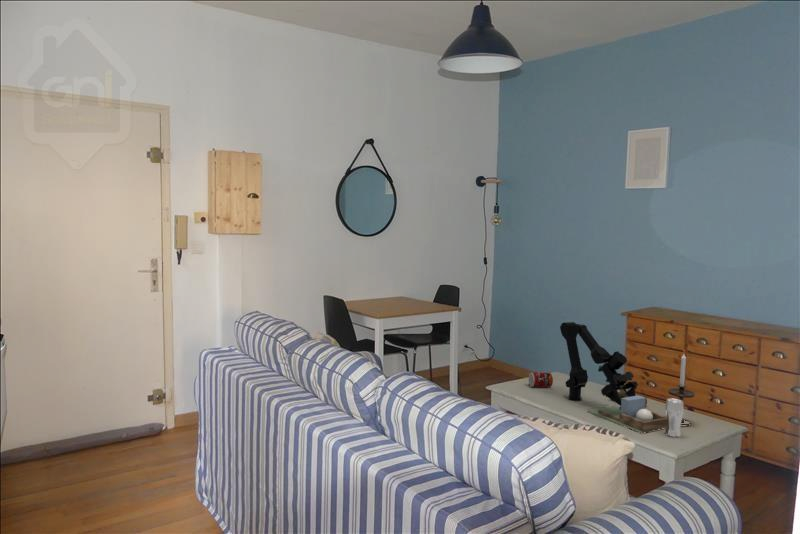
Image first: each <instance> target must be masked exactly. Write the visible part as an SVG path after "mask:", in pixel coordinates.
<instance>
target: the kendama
mask: <svg viewBox="0 0 800 534" xmlns="http://www.w3.org/2000/svg"><path fill="white" fill-rule="evenodd" d="M617 394H618V396H619V398H620V400H621V398H625V397H628V396H627V395H626V392H625V391H624V390H617ZM611 401H612V402H613V400H611ZM647 403H648V399H647V398H646V402H645V407H646V406H647Z"/></svg>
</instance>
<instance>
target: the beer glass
mask: <svg viewBox="0 0 800 534" xmlns="http://www.w3.org/2000/svg"><path fill="white" fill-rule="evenodd" d="M665 402H666V403H665V409H664V410H665V411H664V412H665V413H664V414H665V417H666V423H667V426H666V429H665V432H664V434H665V433H666V434H667V435H670V436H680V435H682V434H681V426H680V425H681V421H682V419H684V418H683V417H684V410H685V406H684V400H683V401H682V400H679V399H678V398H674V397H673V398H671V397H670V398H669V397H668V398H667V399H666V400H665ZM666 434H665V435H666ZM667 435H666V436H667ZM670 436H669V437H670ZM680 437H681V436H680Z"/></svg>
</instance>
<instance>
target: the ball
mask: <svg viewBox="0 0 800 534" xmlns="http://www.w3.org/2000/svg"><path fill="white" fill-rule="evenodd" d="M651 412H652V411H651ZM651 412H650V410H649V409H647V408H645V409H640V410H639V411H638V412H637V413H636V419H639V420H641V421H649V420H653V415H652V413H651Z"/></svg>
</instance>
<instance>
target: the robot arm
mask: <svg viewBox="0 0 800 534" xmlns="http://www.w3.org/2000/svg"><path fill="white" fill-rule="evenodd" d="M559 330H560V334H561V335H562V337H563V338H564V340H565V341H566V346H567V347H566V348H567V351H568V357H569V362H570V371H569V379H567V380H566V381H565V387H567V388H569V389H568V390H569V393H568V394H569V395H568V396H567V397H568V398H567V400H570V401H578V402H582V397H583V396H582V388H585V387H586V385H587V383H588V380H589V379H588V378H589V376H588V371H587V369H584V368H583V366H582V363H581V357H580V352H579V346H578V343H577V337H578V335H579V337H580V339H582V341H583V343H585V345H586V347H587V348H588V350H589V351H590V357H591V359H592V361H593V362H594V363H595V364H597V365H598V370H597V371H598V372H600V373H601V372H602V373H603V374H604V376H605V378H606V379H605V382H606V383H609V384H606V385H605V386H604V387H602V388H601V389H600V392H601V395H602V396H603V397H604V396H605V397H606V398H608V399H610V400H611V401H612V400H613V401H614V403H616V404H617V405H619V407H621V399H620V398H619V396H618V394H617V391H620V390H624V391H625V392H626V395H627V396H628V397H631V396H637V395H636V390H637V388H638V386H639V384H638V382H637V381H635V380H633V379H634V374H633V373H632V371H626V372H625V373H623V374H622V373H620V372H619V373H618V370H620V369H621V368H622V367H623V366H624V365H625V364H627V362H628V360H627V357H626V356H625V355H624V354H622V353H621V352H620V351H614V352H613V354H610V353H609V351H608V350H607V349H606V348H604V347H602V346H601V345H600V344H599V343H598V341H597V340H596V339H595V338H594V337H593V335H592V333H591V332H590V331H589V329H588V328H587V325H585V324H580V323H579V324H578V323H576V322H574V321H567V322H562V323H561V325H560V326H559ZM601 364H602V365H601ZM613 401H612V402H613Z"/></svg>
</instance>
